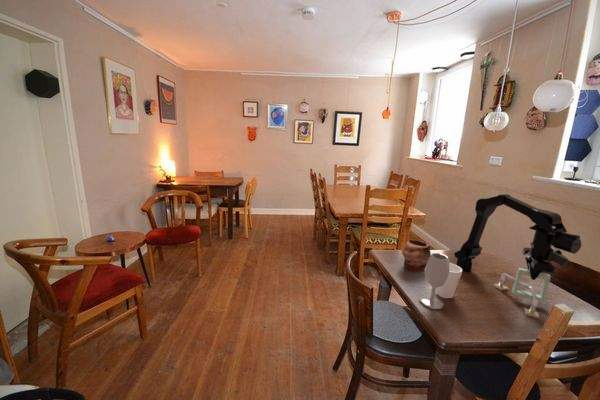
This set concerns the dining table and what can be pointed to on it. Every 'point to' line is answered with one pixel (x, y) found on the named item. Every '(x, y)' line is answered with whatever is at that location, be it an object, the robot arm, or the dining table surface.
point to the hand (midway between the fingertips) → (532, 278)
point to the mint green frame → (528, 294)
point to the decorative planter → (416, 255)
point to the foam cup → (450, 282)
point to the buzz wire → (531, 311)
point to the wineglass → (435, 278)
